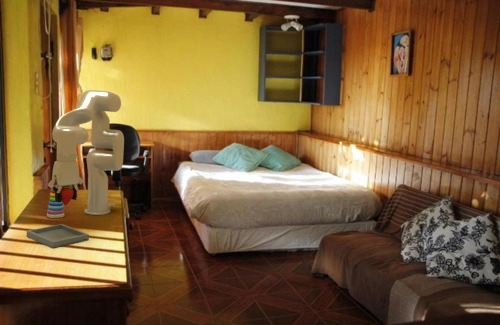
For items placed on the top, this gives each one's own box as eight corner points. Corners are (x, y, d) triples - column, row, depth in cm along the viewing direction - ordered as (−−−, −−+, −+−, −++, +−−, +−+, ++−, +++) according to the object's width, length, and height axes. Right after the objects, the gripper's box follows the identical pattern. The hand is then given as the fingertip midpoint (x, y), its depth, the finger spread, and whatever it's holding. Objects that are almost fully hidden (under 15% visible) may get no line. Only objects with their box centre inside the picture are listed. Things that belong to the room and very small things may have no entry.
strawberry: (73, 203, 204) (73, 180, 202) (73, 207, 197) (74, 183, 195) (58, 203, 201) (58, 180, 200) (58, 207, 194) (58, 183, 193)
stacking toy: (58, 219, 225) (58, 180, 223) (43, 217, 227) (43, 179, 224) (67, 215, 233) (68, 178, 230) (53, 213, 234) (53, 176, 232)
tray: (61, 229, 211) (61, 223, 210) (88, 240, 199) (88, 234, 199) (26, 236, 198) (26, 230, 198) (53, 248, 186) (53, 242, 186)
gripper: (79, 155, 205) (78, 196, 208) (41, 158, 191) (41, 201, 194) (90, 157, 201) (89, 199, 204) (52, 160, 187) (51, 205, 190)
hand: (66, 200), depth 199 cm, fingers closed on strawberry, 6 cm apart
